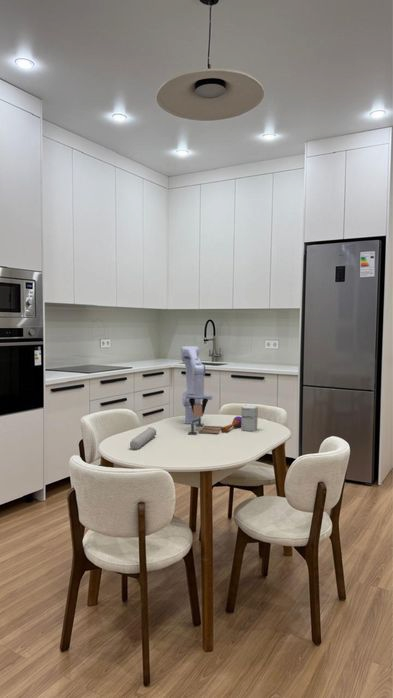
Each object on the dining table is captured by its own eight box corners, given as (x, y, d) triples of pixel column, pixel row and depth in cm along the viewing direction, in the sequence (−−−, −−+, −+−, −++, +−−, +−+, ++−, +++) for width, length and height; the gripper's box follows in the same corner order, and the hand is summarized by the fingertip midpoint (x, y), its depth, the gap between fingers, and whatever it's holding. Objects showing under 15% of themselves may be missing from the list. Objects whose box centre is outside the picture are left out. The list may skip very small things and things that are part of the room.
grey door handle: (196, 424, 266) (196, 415, 266) (203, 425, 265) (203, 415, 265) (187, 434, 243) (187, 424, 242) (195, 435, 242) (195, 424, 242)
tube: (140, 442, 213) (157, 429, 237) (129, 438, 214) (148, 425, 238) (137, 453, 213) (154, 439, 238) (126, 448, 214) (145, 435, 239)
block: (195, 414, 256) (195, 403, 256) (203, 415, 255) (203, 404, 255) (193, 416, 251) (193, 405, 251) (201, 416, 251) (201, 405, 250)
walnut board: (204, 426, 261) (204, 425, 261) (222, 427, 259) (222, 426, 259) (198, 433, 246) (198, 432, 246) (217, 434, 244) (218, 433, 244)
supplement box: (240, 430, 253) (241, 407, 252) (244, 427, 259) (244, 404, 259) (254, 431, 250) (254, 408, 249) (257, 429, 257) (258, 405, 256)
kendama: (217, 424, 249) (235, 415, 266) (220, 435, 249) (237, 425, 266) (227, 424, 246) (244, 414, 263) (229, 435, 246) (246, 425, 263)
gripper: (183, 388, 250) (183, 413, 251) (210, 388, 247) (210, 414, 248) (186, 386, 257) (186, 411, 258) (213, 387, 254) (212, 412, 255)
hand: (198, 412), depth 253 cm, fingers closed on block, 4 cm apart
